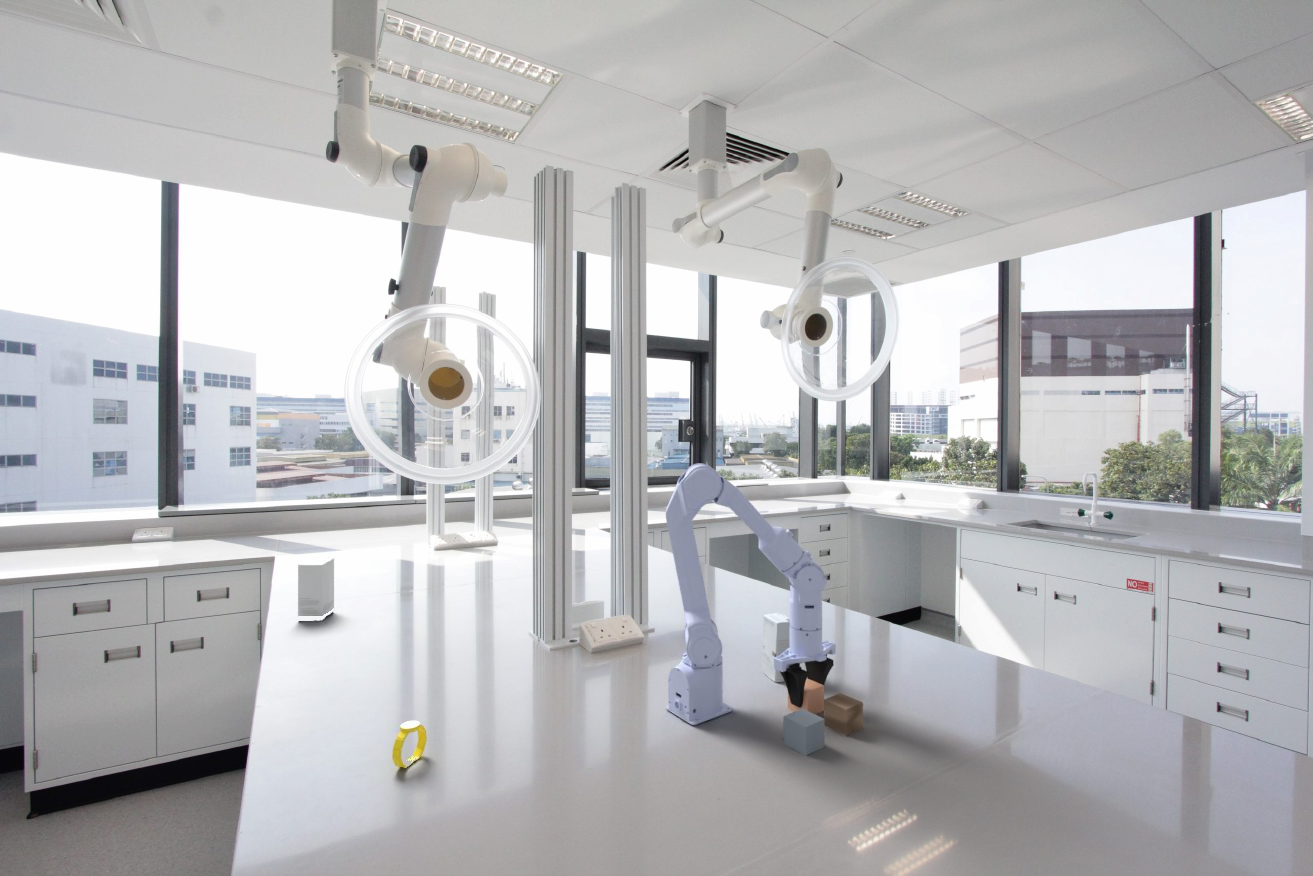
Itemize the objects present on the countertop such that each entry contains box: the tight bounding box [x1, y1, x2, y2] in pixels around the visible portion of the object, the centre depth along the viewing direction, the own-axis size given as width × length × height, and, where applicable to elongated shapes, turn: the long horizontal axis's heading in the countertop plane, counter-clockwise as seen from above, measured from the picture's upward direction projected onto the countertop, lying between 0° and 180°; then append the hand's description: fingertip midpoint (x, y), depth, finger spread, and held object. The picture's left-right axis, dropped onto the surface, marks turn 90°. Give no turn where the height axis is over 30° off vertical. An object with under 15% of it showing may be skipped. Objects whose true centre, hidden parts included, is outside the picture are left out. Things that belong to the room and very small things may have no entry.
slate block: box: [783, 709, 826, 756], centre depth 95 cm, size 4×4×4 cm
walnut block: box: [823, 692, 864, 737], centre depth 101 cm, size 4×4×4 cm
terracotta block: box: [787, 678, 825, 715], centre depth 108 cm, size 4×4×4 cm
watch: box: [391, 720, 428, 769], centre depth 91 cm, size 6×3×6 cm, turn 163°
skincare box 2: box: [761, 612, 790, 683], centre depth 122 cm, size 6×4×12 cm
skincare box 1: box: [297, 557, 335, 617], centre depth 163 cm, size 8×7×16 cm
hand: (805, 701), depth 108 cm, fingers closed on terracotta block, 4 cm apart
